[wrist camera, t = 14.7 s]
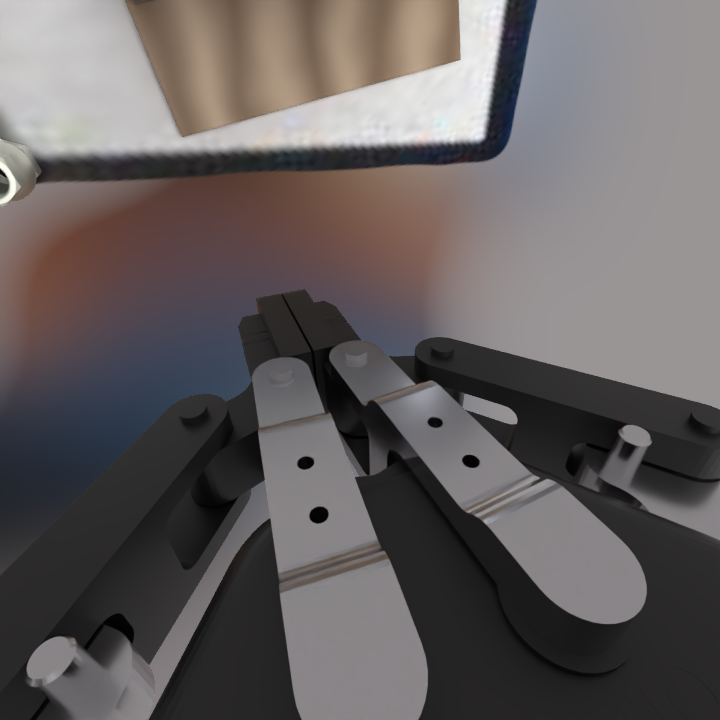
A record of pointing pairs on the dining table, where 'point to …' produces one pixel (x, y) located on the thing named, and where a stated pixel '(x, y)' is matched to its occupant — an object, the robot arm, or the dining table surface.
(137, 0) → the grey two-legged stand
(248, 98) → the track board
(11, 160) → the valve
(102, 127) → the dining table surface
